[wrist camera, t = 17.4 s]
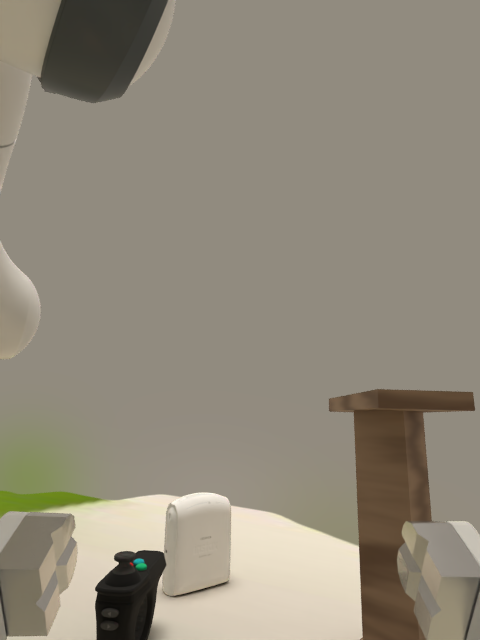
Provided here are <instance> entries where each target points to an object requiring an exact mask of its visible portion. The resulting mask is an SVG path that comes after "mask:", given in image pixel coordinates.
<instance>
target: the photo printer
mask: <svg viewBox="0 0 480 640" xmlns="http://www.w3.org/2000/svg"><path fill="white" fill-rule="evenodd" d="M230 547H231V506H230V502H229V500H228V499H227V498H226V497H224V496H221V495H218V494H214V493H194V494H190V495H187V496H184V497H181V498H179V499H177V500H175V501H173V502H171V503H170V504H169V506H168V508H167V512H166V527H165V545H164V556H165V560H166V564H167V565H166V567H165V569H164V571H163V581H162V584H163V592H164V593H165V594H167V595H169V596H176V595H180V594H185V593H188V592H192V591H196V590H200V589H203V588H207V587H210V586H214V585H217V584H221V583H224V582H226V581H228V580H229V577H230Z"/></svg>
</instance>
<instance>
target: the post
mask: <svg viewBox="0 0 480 640" xmlns="http://www.w3.org/2000/svg"><path fill="white" fill-rule="evenodd" d="M474 410H475V407H474V398H473V392H450V391H417V390H384V389H377V390H371V391H367V392H361V393H356V394H352V395H346V396H341V397H336V398H330V399H329V411H330V412H332V411H333V412H354V429H355V453H356V477H357V478H356V479H357V503H358V528H359V553H360V578H361V603H362V628H363V638H361V639H360V640H426V638H425V636H424V634H423V631H422V629H421V627H420V625H419V623H418V620H417V618H416V616H415V614H414V606H415V601H414V600H413V599H412V598H411V597H410V596H408V595H407V594H406V593H405V591H404V589H403V586H402V584H401V581H400V577H399V574H398V565H397V557H398V550H399V548H400V547H401V546H402V545H403V544H404V543H405V540H404V538H403V536H402V529H403V525H404V524H405V522H406V521H432V520H431V506H430V494H429V482H428V469H427V457H426V445H425V432H424V419H423V412H451V411H474Z"/></svg>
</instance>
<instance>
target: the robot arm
mask: <svg viewBox="0 0 480 640" xmlns="http://www.w3.org/2000/svg"><path fill="white" fill-rule="evenodd" d="M175 4H176V0H0V193H1V189H2V185H3V181H4V177H5V174H6V170H7V167H8V163H9V160H10V157H11V154H12V151H13V148H14V145H15V142H16V139H17V135H18V132H19V128H20V125H21V122H22V119H23V115H24V111H25V107H26V103H27V99H28V95H29V89H30V84H31V79H32V75H35V76H37V77H38V79H39V81H40V82H41V85H42V88H43V89H44V90H45V91H46V92H50V93H54V94H55V93H57V94H60V95H64V96H67V97H70V98H74V99H77V100H81V101H86V102H90V103H96V102H102V101H107V100H111V99H115V98H120V97H121V96H122V95H123V94H124V93H125V91H126V90H127V88H128V86H130V85H131V84H133V83H134V82H135V81H137V80H138V79H139V78H140V77H141V76H142V75H143V74H144V73H145V72H146V71H147V70H148V68H149V67H150V66H151V65H152V64H153V62H154V61H155V59H156V57H157V56H158V54H159V52H160V51H161V49H162V47H163V45H164V43H165V40H166V38H167V35H168V32H169V29H170V26H171V23H172V19H173V14H174V8H175ZM40 316H41V306H40V300H39V296H38V293H37V291H36V289H35V287H34V285H33V283H32V282H31V281H30V279H29V278H28V277H27V276H26V275H25V274H24V273H23V272H22V271H20V270H19V269H18V268H17V267H16V266H15V264H14V263H13V262H12V261H11V259H10V258H9V256H8V255H7V253H6V251H5V250H4V248H3V246H2V243H1V241H0V360H4V359H10V358H12V357H14V356H15V355H17V354H18V353H19V352H21V351H22V350H23V349H24V348H25V347H26V346H27V345H28V344H29V342H30V341H31V340H32V338H33V336H34V335H35V333H36V331H37V328H38V325H39V322H40ZM74 529H75V520H74V516H73V515H72V514H61V513H40V512H30V513H28V512H8V513H6V514H5V515H4V516H3V517H2V518H1V519H0V640H6V639H7V636H47V635H48V633H49V631H50V628H51V626H52V624H53V622H54V619H55V617H56V615H57V612H58V610H59V608H60V597H59V595H60V594H61V593H62V592H63V591H64V590H66V589H67V588H68V587H69V584H70V582H71V580H72V577H73V574H74V570H75V566H76V562H77V542H76V541H75V540H74V539H73V538H72V537H71V536H72V533H73V531H74ZM402 536H403V538H404V540H405V543H404V544H403V545H402V546H401V547H400V548H399V550H398V557H397V565H398V574H399V577H400V581H401V584H402V586H403V589H404V591H405V593H406V594H407V595H408V596H410V597H411V598H412V599H413V600H414V601H415V606H414V614H415V616H416V618H417V620H418V623H419V625H420V627H421V629H422V631H423V634H424V636H425V638H426V640H480V535H479V534H478V532H477V531H476V530H475V528H473V526H472V525H471V524H470V523H468V522H466V521H465V522H464V521H446V522H437V521H435V522H434V521H406V522H405V524H404V525H403V529H402Z"/></svg>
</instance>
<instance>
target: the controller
mask: <svg viewBox="0 0 480 640" xmlns="http://www.w3.org/2000/svg"><path fill="white" fill-rule="evenodd" d="M114 560H115V561H117V562H119V565H117V566H116V567H115V568H114V569H113V570H112V571H110V572H109V573H108V574H107V575H106V576H105V577H104V578H103V579H102V580H101V581H100V582H99V583H98V585H97V586H96V588H95V591H97V592H98V593H97V598H96V603H95V610H96V621H97V640H147V638H148V635H149V632H150V628H151V624H152V620H153V615H154V609H155V603H156V594H157V586H158V582H159V579H160V577H161V575H162V573H163V571H164V569H165V567H166V565H167V564H166V560H165V556H164V553H162V552H160V551H147V550H143V551H138V552H137V553H134V552H130V551H124V552H119V553H117V554H115V556H114Z"/></svg>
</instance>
